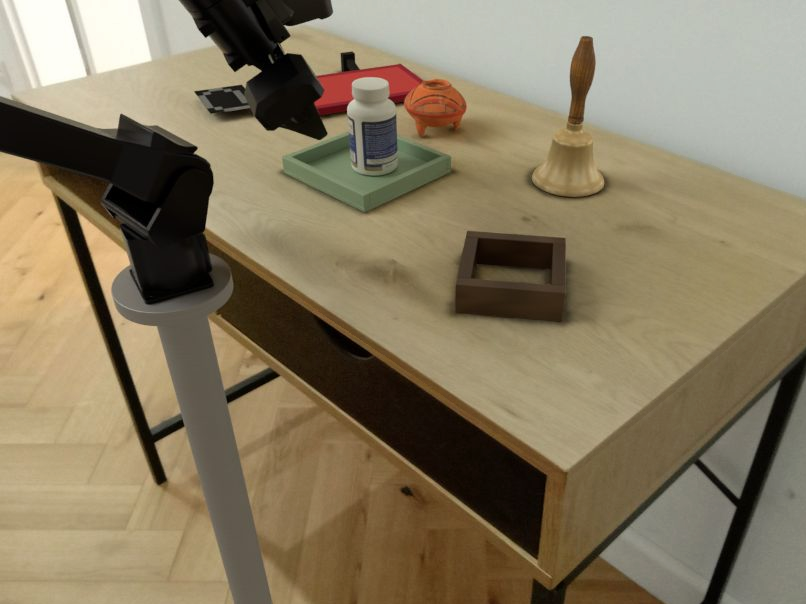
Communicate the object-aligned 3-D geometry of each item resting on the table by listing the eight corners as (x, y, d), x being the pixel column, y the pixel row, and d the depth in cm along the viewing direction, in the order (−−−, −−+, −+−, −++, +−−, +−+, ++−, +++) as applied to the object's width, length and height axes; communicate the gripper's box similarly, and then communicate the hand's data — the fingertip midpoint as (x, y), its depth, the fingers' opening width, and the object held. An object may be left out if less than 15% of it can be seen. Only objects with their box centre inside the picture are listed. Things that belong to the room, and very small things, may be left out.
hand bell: (585, 161, 94) (603, 23, 84) (616, 192, 87) (639, 46, 77) (521, 169, 91) (531, 28, 82) (548, 201, 85) (562, 53, 75)
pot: (389, 122, 101) (398, 68, 97) (442, 126, 105) (453, 75, 101) (415, 143, 95) (426, 87, 92) (470, 147, 99) (482, 93, 96)
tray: (364, 212, 82) (363, 195, 81) (283, 173, 89) (281, 156, 88) (451, 171, 91) (451, 155, 89) (370, 138, 97) (370, 123, 96)
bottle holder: (454, 313, 69) (455, 284, 67) (466, 257, 76) (466, 230, 74) (562, 321, 68) (565, 293, 66) (562, 264, 75) (566, 237, 73)
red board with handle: (191, 93, 107) (222, 134, 97) (187, 72, 105) (218, 113, 95) (390, 65, 119) (435, 99, 109) (389, 46, 117) (435, 79, 107)
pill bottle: (406, 163, 91) (404, 80, 85) (382, 181, 87) (378, 95, 81) (367, 153, 93) (362, 71, 87) (342, 170, 89) (335, 86, 83)
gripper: (324, -18, 60) (410, 117, 73) (257, -117, 70) (342, 17, 83) (208, 66, 61) (312, 184, 74) (158, -44, 71) (258, 77, 84)
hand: (308, 110), depth 79 cm, fingers open, 9 cm apart
